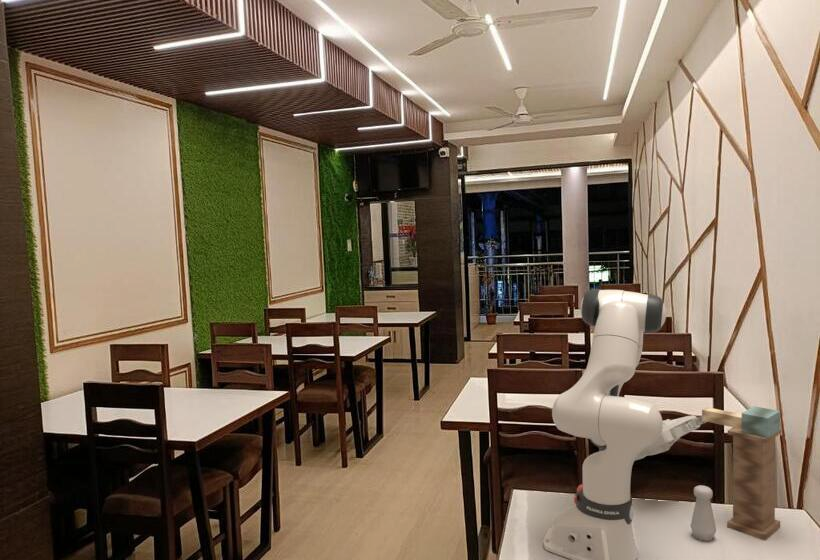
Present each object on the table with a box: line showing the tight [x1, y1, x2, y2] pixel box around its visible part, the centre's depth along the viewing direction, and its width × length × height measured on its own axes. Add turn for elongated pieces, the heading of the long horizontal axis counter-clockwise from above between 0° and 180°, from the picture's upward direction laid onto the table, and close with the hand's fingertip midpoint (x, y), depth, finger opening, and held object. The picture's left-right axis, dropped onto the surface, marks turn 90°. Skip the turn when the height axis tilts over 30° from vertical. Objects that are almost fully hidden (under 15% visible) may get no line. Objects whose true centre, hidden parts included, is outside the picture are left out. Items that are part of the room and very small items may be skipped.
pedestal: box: [726, 427, 782, 542], centre depth 151 cm, size 9×10×26 cm
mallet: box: [701, 406, 781, 438], centre depth 152 cm, size 17×8×5 cm, turn 39°
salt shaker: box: [690, 484, 717, 542], centre depth 147 cm, size 6×6×13 cm
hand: (697, 423), depth 161 cm, fingers open, 8 cm apart
